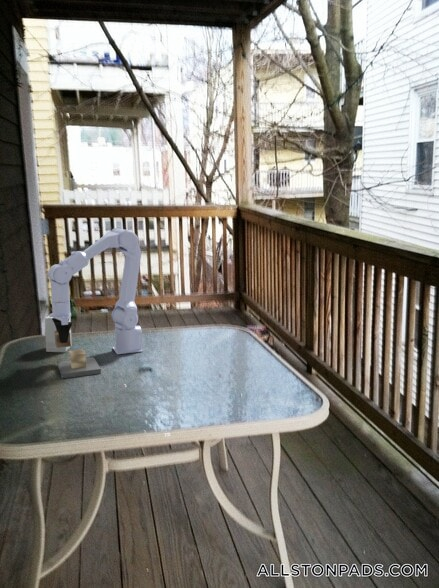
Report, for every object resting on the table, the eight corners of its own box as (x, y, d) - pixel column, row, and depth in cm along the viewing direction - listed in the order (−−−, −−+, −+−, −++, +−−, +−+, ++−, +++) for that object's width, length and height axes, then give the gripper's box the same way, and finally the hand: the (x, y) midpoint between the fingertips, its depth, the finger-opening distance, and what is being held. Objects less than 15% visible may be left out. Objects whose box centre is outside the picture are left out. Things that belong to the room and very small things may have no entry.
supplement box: (66, 352, 189) (64, 318, 186) (45, 352, 189) (43, 317, 186) (72, 346, 196) (71, 313, 194) (52, 345, 196) (50, 312, 194)
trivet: (93, 361, 180) (93, 357, 180) (100, 373, 170) (100, 368, 169) (57, 365, 175) (57, 361, 175) (62, 378, 165) (62, 373, 164)
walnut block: (68, 342, 181) (68, 329, 180) (70, 346, 177) (70, 333, 176) (55, 343, 179) (54, 331, 178) (56, 347, 175) (56, 334, 174)
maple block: (83, 362, 175) (83, 349, 174) (86, 366, 171) (85, 353, 170) (69, 363, 173) (69, 350, 172) (71, 368, 169) (71, 355, 168)
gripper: (45, 297, 179) (48, 335, 182) (50, 306, 167) (53, 348, 169) (67, 295, 182) (69, 333, 185) (73, 305, 169) (75, 345, 172)
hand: (62, 340), depth 178 cm, fingers closed on walnut block, 4 cm apart
